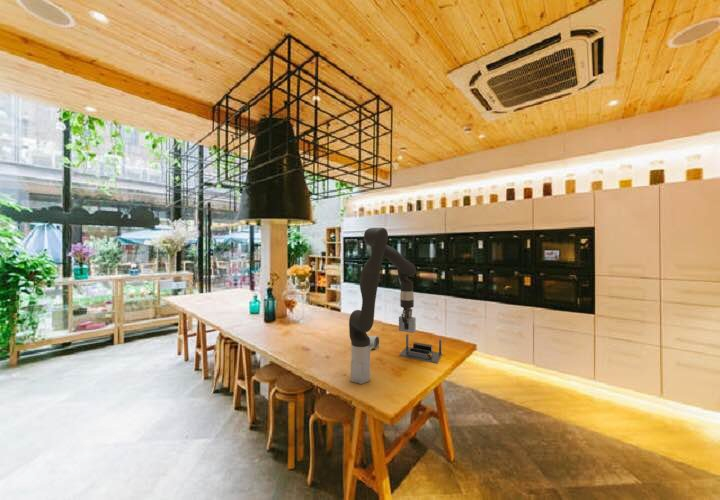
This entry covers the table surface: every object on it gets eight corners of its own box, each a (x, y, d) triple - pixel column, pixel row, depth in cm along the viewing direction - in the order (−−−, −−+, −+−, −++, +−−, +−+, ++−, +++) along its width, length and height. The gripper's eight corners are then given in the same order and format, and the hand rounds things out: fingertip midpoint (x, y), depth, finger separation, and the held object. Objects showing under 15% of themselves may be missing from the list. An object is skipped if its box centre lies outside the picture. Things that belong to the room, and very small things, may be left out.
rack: (437, 363, 148) (437, 347, 148) (399, 356, 158) (399, 340, 158) (441, 354, 161) (441, 339, 161) (406, 348, 171) (406, 334, 171)
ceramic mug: (368, 344, 177) (368, 332, 177) (379, 346, 173) (379, 334, 173) (360, 349, 168) (360, 337, 168) (372, 352, 164) (372, 340, 164)
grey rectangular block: (414, 333, 150) (414, 318, 150) (398, 330, 154) (398, 317, 154) (415, 331, 153) (415, 317, 153) (400, 329, 157) (400, 315, 157)
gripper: (409, 301, 145) (410, 333, 146) (416, 296, 158) (416, 325, 158) (396, 300, 149) (397, 331, 149) (404, 295, 161) (404, 324, 162)
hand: (407, 328), depth 154 cm, fingers closed on grey rectangular block, 3 cm apart
